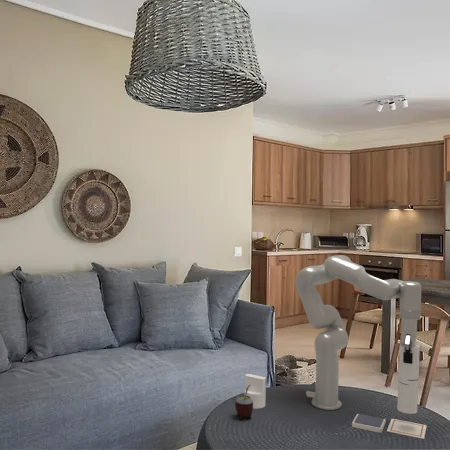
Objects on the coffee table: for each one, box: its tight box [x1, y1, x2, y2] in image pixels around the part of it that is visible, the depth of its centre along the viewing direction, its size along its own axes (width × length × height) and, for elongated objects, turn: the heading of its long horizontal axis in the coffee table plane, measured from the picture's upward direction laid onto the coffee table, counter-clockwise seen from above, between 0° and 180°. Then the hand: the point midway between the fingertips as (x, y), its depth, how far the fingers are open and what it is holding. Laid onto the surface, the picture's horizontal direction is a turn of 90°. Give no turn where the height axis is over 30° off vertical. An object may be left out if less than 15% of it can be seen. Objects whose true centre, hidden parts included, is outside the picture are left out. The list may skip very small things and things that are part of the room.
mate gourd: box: [234, 385, 254, 421], centre depth 193 cm, size 8×8×15 cm
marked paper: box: [386, 418, 427, 440], centre depth 186 cm, size 13×13×1 cm
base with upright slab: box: [244, 373, 267, 410], centre depth 208 cm, size 9×9×12 cm
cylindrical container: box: [396, 342, 421, 415], centre depth 186 cm, size 7×7×25 cm
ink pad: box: [351, 413, 387, 434], centre depth 189 cm, size 11×10×2 cm
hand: (408, 360), depth 186 cm, fingers closed on cylindrical container, 7 cm apart
